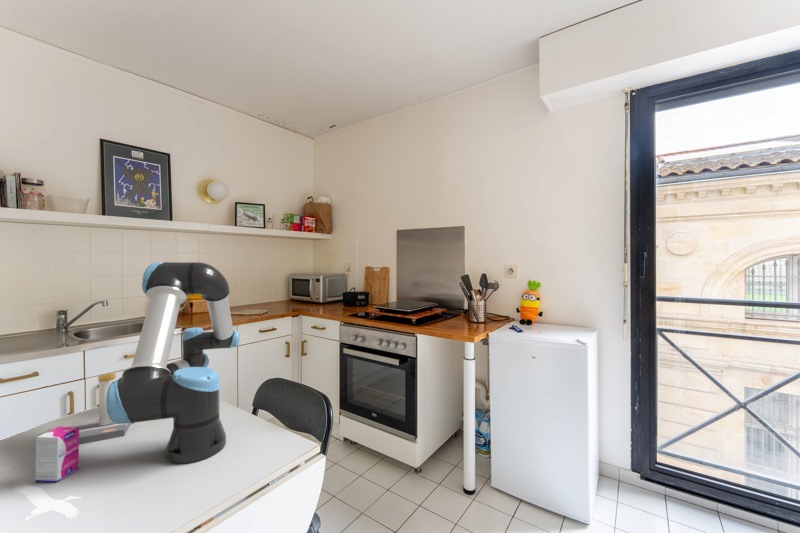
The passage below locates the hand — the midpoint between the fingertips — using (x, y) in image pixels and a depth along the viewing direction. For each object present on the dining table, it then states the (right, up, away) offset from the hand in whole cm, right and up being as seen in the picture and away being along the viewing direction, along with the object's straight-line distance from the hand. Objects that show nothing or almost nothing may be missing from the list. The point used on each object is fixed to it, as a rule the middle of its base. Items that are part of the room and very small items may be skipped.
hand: (119, 391), depth 116 cm
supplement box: (+8, -11, -29) cm, 32 cm away
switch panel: (-2, -10, -9) cm, 14 cm away
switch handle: (+2, -8, -7) cm, 11 cm away
